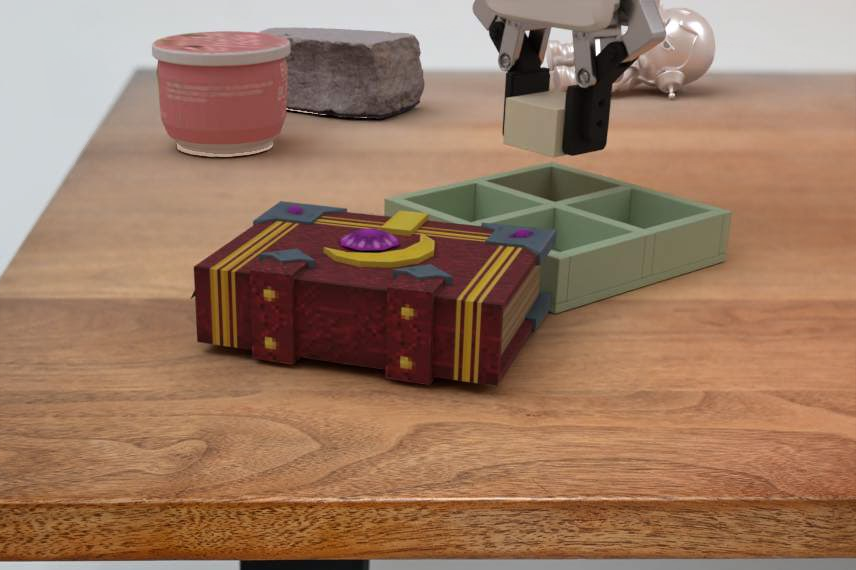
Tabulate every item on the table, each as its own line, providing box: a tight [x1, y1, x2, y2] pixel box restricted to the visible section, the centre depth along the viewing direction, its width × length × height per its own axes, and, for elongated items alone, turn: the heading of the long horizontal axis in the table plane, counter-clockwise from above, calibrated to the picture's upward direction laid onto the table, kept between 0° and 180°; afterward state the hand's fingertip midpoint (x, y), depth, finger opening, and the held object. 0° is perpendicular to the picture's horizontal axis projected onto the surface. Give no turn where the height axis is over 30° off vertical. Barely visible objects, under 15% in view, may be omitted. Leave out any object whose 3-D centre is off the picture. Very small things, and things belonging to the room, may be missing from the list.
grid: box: [383, 161, 733, 315], centre depth 73 cm, size 14×14×3 cm
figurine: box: [545, 4, 716, 100], centre depth 115 cm, size 11×7×15 cm
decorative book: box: [190, 200, 557, 387], centre depth 62 cm, size 11×16×5 cm
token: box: [502, 89, 568, 158], centre depth 75 cm, size 4×4×3 cm
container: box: [151, 30, 291, 154], centre depth 97 cm, size 10×10×8 cm
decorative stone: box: [258, 27, 425, 119], centre depth 109 cm, size 15×7×10 cm
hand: (553, 140), depth 75 cm, fingers closed on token, 4 cm apart
